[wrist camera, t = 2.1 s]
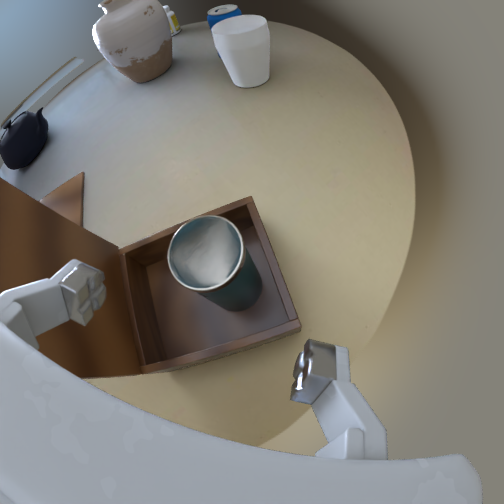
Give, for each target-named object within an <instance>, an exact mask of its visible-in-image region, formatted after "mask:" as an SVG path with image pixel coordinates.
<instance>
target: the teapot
mask: <svg viewBox="0 0 504 504" xmlns="http://www.w3.org/2000/svg"><path fill="white" fill-rule="evenodd" d="M42 109H43V108H41V109H39V110H38V111H37V113H32V112H28V111H25V112H23V113H21V114H20V115H19V116H18V117H16V118H15V120H14V121H13V122H12V123H11V120H8V121H7V122H6V124H5V125H4V127H3V129H6V131H5V132H4V134H3V136H2V137H1V139H0V154H1V157H2V159H3V161H4V163H5V164H6V166H7V167H8V168H10V169H13V170H15V169H19V168H22V167H25V166H26V165H28V164H29V163H30V162H31V161H32V160H33V159H34V158H35V157H36V156H37V154H38V153H39V152H40V150H41V149H42V147H43V145H44V143H45V141H46V139H47V133H48V122H47V120H46V119H45V118H44V117H43V116H42Z"/></svg>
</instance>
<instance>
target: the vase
mask: <svg viewBox="0 0 504 504" xmlns="http://www.w3.org/2000/svg"><path fill="white" fill-rule="evenodd" d="M99 7H102V8H103V10H104V11H105V14H104V15H103V16H102V17H101V18H100V19H99V20H98V21H97V22H96V24H95V25H94V28H93V38H94V41H95V44H96V46H97V48H98V49H99V51H100V52H101V54H102V55H103V56H104V57H105V58H106V59H107V60H108V61H109V63H110V64H111V65H112V66H113V67H115V68H116V69H117V70H118V71H119V72H121V73H122V74H123V75H125V76H126V77H128V78H129V79H131V80H133V81H134V82H137V83H142V82H147V81H149V80H152V79H154V78H156V77H158V76H160V75H161V74H163V73H164V72H165V71H166V70H167V69H168V68H169V67H170V66H171V62H172V37H171V30H170V25H169V21H168V17H167V14H166V12H165V10H164V8H163V6H162V5H161V4H160V3H159V2H158V1H157V0H104V1H102V2H101V3H100V4H99Z"/></svg>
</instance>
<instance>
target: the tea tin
mask: <svg viewBox="0 0 504 504" xmlns="http://www.w3.org/2000/svg"><path fill="white" fill-rule="evenodd" d="M168 266H169V269H170V272H171V274H172V275H173V277H174V278H175V280H176V281H177V282H178V283H179V284H181V285H182V286H184V287H185V288H187V289H189V290H191V291H194V292H196V293H198V294H200V295H201V296H203V297H205V298H206V299H208V300H210V301H212V302H213V303H215V304H217V305H218V306H220V307H222V308H224V309H226V310H228V311H234V312H238V311H243V310H246V309H248V308H250V307H251V306H252V305H254V304H255V303H256V301H257V300H258V299H259V297H260V295H261V292H262V279H261V276H260V273H259V271H258V269H257V268H256V266H255V264H254V262H253V260H252V258H251V256H250V254H249V252H248V250H247V248H246V246H245V243H244V240H243V237H242V235H241V233H240V231H239V230H238V228H237V227H236V226H235V225H234V224H233V223H232V222H231V221H229V220H228V219H226V218H224V217H221V216H217V215H203V216H199V217H196V218H193V219H191V220H190V221H188V222H186V223H185V224H184V225H182V226H181V227H180V228H179V229H178V231H177V232H176V233H175V235H174V236H173V238H172V240H171V242H170V245H169V249H168Z"/></svg>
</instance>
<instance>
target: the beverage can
mask: <svg viewBox="0 0 504 504" xmlns="http://www.w3.org/2000/svg"><path fill="white" fill-rule="evenodd" d="M241 15H242V14H241V11H240V10H239V9H238V8H237V6H236V5H223V6H219V7H216V8H213V9H211V10H209V12H208V17H207V20H208V23H209V26H210V29H212V27H213V26H214V25H215V24H216V23H218V22H220V21H222V20H225V19H227V18H231V17H235V16H241ZM211 32H212V31H211ZM218 55H219V53H218ZM219 57H220V55H219ZM220 58H221V57H220Z"/></svg>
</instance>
